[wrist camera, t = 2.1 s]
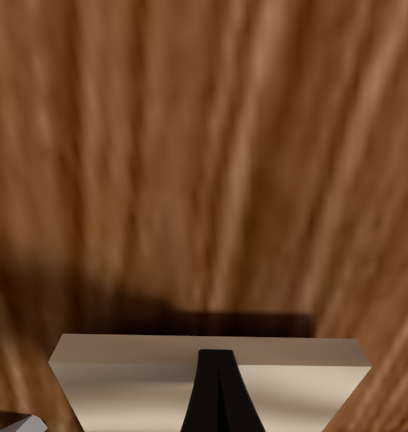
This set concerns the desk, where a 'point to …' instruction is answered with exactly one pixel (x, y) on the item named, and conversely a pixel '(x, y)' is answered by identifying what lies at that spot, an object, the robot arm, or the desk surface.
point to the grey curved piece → (26, 425)
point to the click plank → (186, 371)
